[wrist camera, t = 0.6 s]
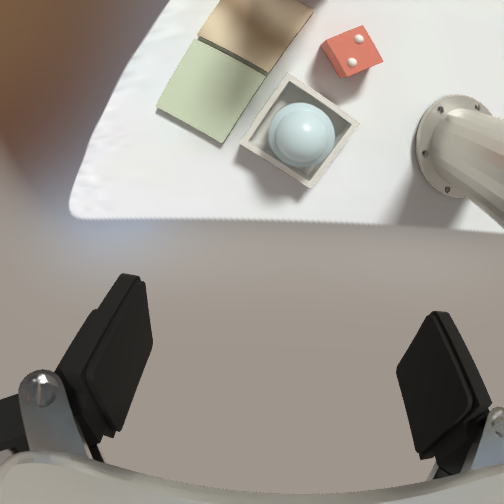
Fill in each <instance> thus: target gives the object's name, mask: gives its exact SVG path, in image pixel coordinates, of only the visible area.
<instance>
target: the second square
mask: <svg viewBox="0 0 504 504" xmlns="http://www.w3.org/2000/svg"><path fill="white" fill-rule="evenodd" d="M265 78H266V76H264V75H263V74H261V73H259V72H257V71H256V70H254V69H252V68H250V67H249V66H247V65H245V64H243V63H241V62H240V61H238V60H236V59H234V58H232V57H230V56H228V55H227V54H225V53H223V52H221V51H219V50H217V49H215V48H213V47H211V46H209V45H207V44H205V43H203V42H201V41H199V40H196V39H194V40H193V42H192V43H191V45H190V46H189V48H188V50H187V51H186V53H185V55H184V56H183V58H182V59H181V61H180V63H179V65H178V66H177V68H176V70H175V71H174V73H173V75H172V77H171V78H170V80H169V82H168V84H167V86H166V87H165V89H164V91H163V93H162V95H161V97H160V99H159V100H158V102H157V104H156V107H157V108H159V109H161V110H163V111H165V112H167V113H169V114H171V115H173V116H174V117H176V118H178V119H180V120H182V121H184V122H185V123H187V124H189V125H191V126H193V127H194V128H196V129H198V130H200V131H201V132H203V133H205V134H207V135H208V136H210V137H212V138H214V139H215V140H217V141H219V142H221V143H223V142H224V141H225V139H226V137H227V136H228V134H229V133H230V131H231V129H232V128H233V126H234V125H235V123H236V121H237V120H238V118H239V117H240V115H241V114H242V112H243V111H244V109H245V108H246V106H247V104H248V103H249V101H250V100H251V98H252V97H253V95H254V94H255V92H256V91H257V89H258V88H259V86H260V85H261V84H262V82H263V81H264V79H265Z"/></svg>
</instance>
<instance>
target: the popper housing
mask: <svg viewBox="0 0 504 504" xmlns="http://www.w3.org/2000/svg"><path fill="white" fill-rule="evenodd" d="M293 102H304V103H309V104H311V105H314V106H315V107H317V108H319V109H320V110H322V111H323V112H324V113H325V114H326V115H327V116H328V117H329V119H330V120H331V122H332V125H333V127H334V132H335V140H334V145H333V148H332V150H331V152H330V153H329V155H328V156H327V157H326V158H325V159H324V160H323V161H321V162H320V163H318V164H316V165H313V166H310V167H295V166H291V165H289V164H286V163H285V162H283V161H282V160H280V159H279V158H278V157H277V156H276V154H275V153H274V152H273V150H272V148H271V146H270V142H269V127H270V123H271V120H272V118H273V116H274V114H275V113H276V112H277V111H278V110H279V109H280V108H282V107H283V106H285V105H287V104H290V103H293ZM359 124H360V123H359V122H358V121H356V120H355V119H354V118H352V117H351V116H350V115H348V114H347V113H346V112H344V111H343V110H342V109H340V108H339V107H338V106H336V105H335V104H333V103H332V102H331V101H329V100H328V99H326V98H325V97H324V96H322V95H321V94H319V93H318V92H316V91H315V90H313V89H312V88H310V87H309V86H307V85H306V84H304V83H303V82H301V81H300V80H298V79H297V78H295V77H294V76H292V75H290V74H289V73H287V74H286V75H285V76H284V78H283V79H282V81H281V82H280V83H279V85H278V86H277V88H276V89H275V91H274V92H273V94H272V95H271V96H270V98H269V99H268V101H267V102H266V104H265V105H264V107H263V108H262V110H261V111H260V113H259V114H258V116H257V117H256V119H255V120H254V122H253V123H252V125H251V126H250V128H249V129H248V131H247V132H246V134H245V136H244V137H243V139H242V140H241V142H240V143H239V144H241V145H242V146H244V147H246V148H247V149H249V150H251V151H252V152H254V153H255V154H257V155H259V156H260V157H262V158H264V159H265V160H267V161H268V162H270V163H271V164H273V165H275V166H276V167H278V168H279V169H281V170H282V171H284V172H286V173H287V174H289V175H290V176H292V177H293V178H295V179H296V180H298V181H299V182H301V183H302V184H304V185H305V186H307V187H308V188H310V189H311V188H312V187H313V185H314V184H315V183H316V182H317V180H318V179H319V178H320V176H321V175H322V174H323V172H324V171H325V170H326V168H327V167H328V166H329V164H330V163H331V162H332V160H333V159H334V158H335V156H336V155H337V154H338V152H339V151H340V150H341V148H342V147H343V146H344V144H345V143H346V142H347V140H348V139H349V138H350V136H351V135H352V134H353V132H354V131H355V130H356V128H357V127H358V126H359Z"/></svg>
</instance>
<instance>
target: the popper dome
mask: <svg viewBox="0 0 504 504" xmlns="http://www.w3.org/2000/svg"><path fill="white" fill-rule="evenodd" d="M334 140H335V132H334V127H333V125H332V122H331V120H330V119H329V117H328V116H327V115H326V114H325V113H324V112H323V111H322V110H320V109H319V108H317V107H315V106H314V105H311V104H309V103H304V102H293V103H290V104H287V105H285V106H283V107H282V108H280V109H279V110H278V111H277V112H276V113H275V114H274V116H273V118H272V120H271V123H270V127H269V142H270V146H271V148H272V150H273V152H274V153H275V154H276V156H277V157H278V158H279V159H280V160H282V161H283V162H285V163H286V164H289V165H291V166H295V167H310V166H313V165H316V164H318V163H320V162H321V161H323V160H324V159H325V158H326V157H327V156H328V155H329V153H330V152H331V150H332V148H333V145H334Z"/></svg>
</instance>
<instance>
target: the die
mask: <svg viewBox="0 0 504 504" xmlns="http://www.w3.org/2000/svg"><path fill="white" fill-rule="evenodd" d="M321 47H322V49H323V50H324V52H325V54H326V55H327V57H328V58H329V60H330V62H331V64H332V65H333V67H334V69H335V70H336V72H337V74H338V76H339V78H341V77H349V76H351V75H353V74H356V73H358V72H360V71H362V70H365V69H367V68H370V67H372V66H374V65H377V64H379V63H382V62H383V60H382V58H381V56H380V54H379V52H378V51H377V49H376V47H375V45H374V43H373V42H372V40H371V38H370V36H369V35H368V33H367V31H366V30H365V28H364V26H363V25H362V26H359V27H357V28H354V29H352V30H349V31H347V32H344V33H342V34H339V35H337V36H335V37H332V38H330V39H328V40H326V41H325V42H323V43H322V44H321Z"/></svg>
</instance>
